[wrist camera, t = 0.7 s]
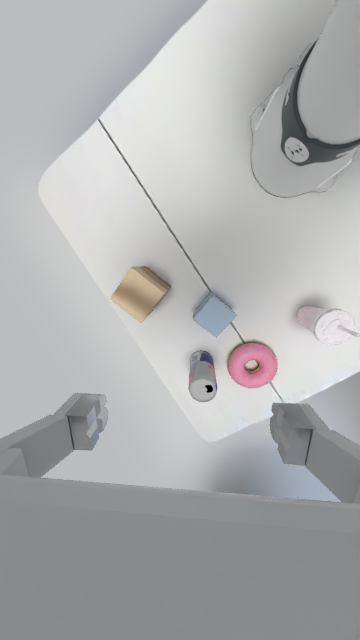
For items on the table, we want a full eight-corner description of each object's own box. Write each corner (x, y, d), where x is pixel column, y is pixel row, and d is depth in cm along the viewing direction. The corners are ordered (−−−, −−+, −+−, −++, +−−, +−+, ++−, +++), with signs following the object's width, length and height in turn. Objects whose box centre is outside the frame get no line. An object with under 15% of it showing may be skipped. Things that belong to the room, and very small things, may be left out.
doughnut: (283, 366, 48) (290, 376, 44) (242, 389, 50) (246, 400, 46) (257, 331, 46) (263, 337, 42) (217, 356, 48) (219, 365, 44)
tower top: (139, 266, 39) (131, 267, 34) (168, 289, 40) (164, 293, 35) (119, 294, 41) (109, 298, 36) (147, 316, 42) (141, 322, 37)
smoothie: (325, 321, 44) (382, 346, 30) (296, 333, 45) (338, 362, 32) (315, 294, 42) (371, 308, 29) (285, 307, 44) (325, 327, 30)
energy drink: (214, 368, 49) (220, 400, 37) (193, 372, 50) (192, 405, 38) (210, 348, 48) (214, 375, 36) (188, 352, 48) (185, 380, 37)
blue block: (210, 291, 44) (213, 295, 38) (231, 308, 45) (236, 315, 39) (193, 312, 46) (193, 319, 40) (213, 328, 46) (216, 337, 41)
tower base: (145, 266, 44) (139, 266, 39) (171, 286, 45) (168, 289, 40) (128, 291, 46) (120, 294, 41) (153, 310, 46) (147, 315, 42)
